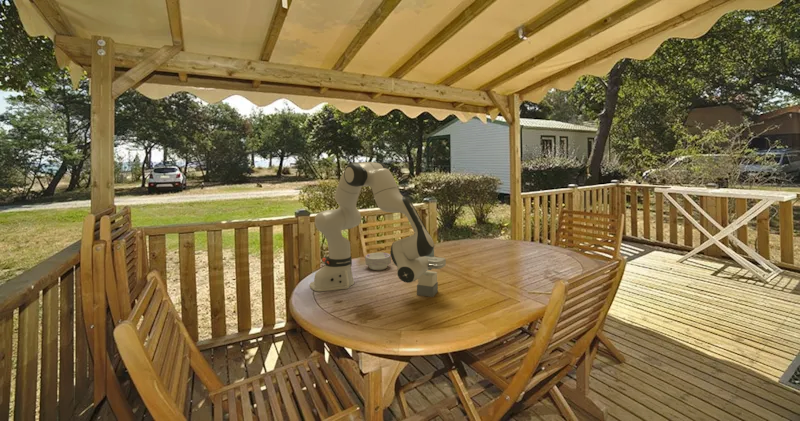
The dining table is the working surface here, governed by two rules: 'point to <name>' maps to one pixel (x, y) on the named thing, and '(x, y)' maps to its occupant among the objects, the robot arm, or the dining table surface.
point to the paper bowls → (378, 260)
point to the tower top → (428, 279)
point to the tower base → (427, 290)
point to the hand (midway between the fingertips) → (427, 257)
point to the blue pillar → (431, 256)
